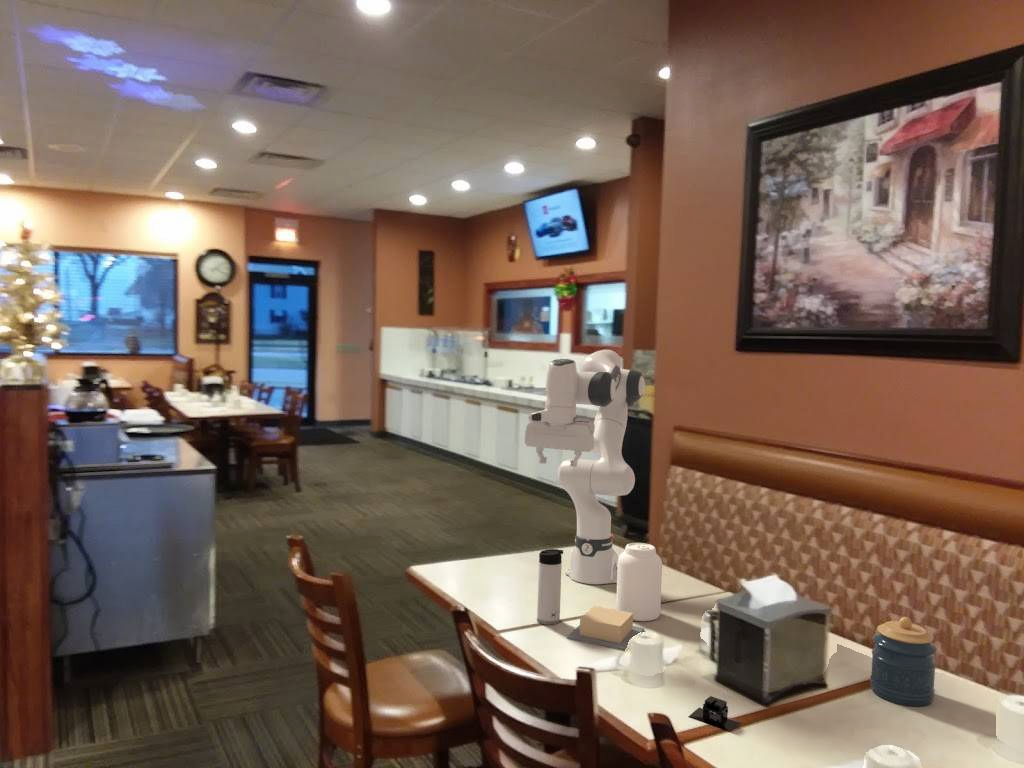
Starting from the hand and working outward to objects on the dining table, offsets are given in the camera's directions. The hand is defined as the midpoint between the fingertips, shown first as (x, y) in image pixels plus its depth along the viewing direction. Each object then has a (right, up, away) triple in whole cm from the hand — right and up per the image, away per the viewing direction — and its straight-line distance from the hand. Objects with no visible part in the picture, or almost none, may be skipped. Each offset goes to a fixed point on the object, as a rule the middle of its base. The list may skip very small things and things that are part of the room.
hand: (558, 465), depth 217 cm
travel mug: (-3, -43, -5) cm, 43 cm away
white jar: (+23, -43, +2) cm, 49 cm away
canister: (+75, -47, -44) cm, 99 cm away
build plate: (+29, -47, -59) cm, 81 cm away
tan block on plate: (+12, -44, -14) cm, 47 cm away
